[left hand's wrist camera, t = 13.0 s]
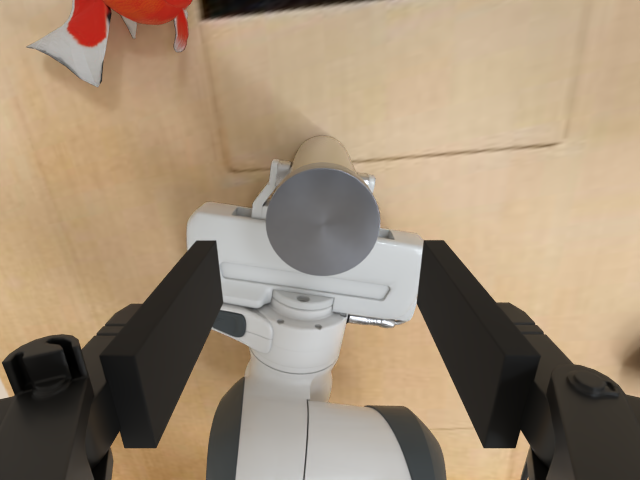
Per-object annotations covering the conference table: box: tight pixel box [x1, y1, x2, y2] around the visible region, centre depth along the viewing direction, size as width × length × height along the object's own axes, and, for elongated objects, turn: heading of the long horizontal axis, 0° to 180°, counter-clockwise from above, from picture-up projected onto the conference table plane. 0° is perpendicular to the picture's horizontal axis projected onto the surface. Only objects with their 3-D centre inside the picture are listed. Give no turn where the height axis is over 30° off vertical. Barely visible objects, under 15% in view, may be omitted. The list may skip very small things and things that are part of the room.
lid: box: [265, 162, 380, 276], centre depth 20 cm, size 6×6×2 cm
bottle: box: [288, 136, 357, 174], centre depth 27 cm, size 5×5×17 cm
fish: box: [27, 0, 192, 87], centre depth 27 cm, size 11×16×10 cm
